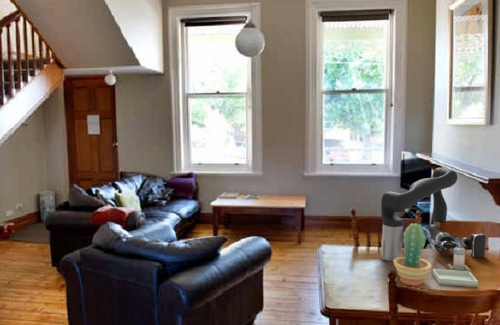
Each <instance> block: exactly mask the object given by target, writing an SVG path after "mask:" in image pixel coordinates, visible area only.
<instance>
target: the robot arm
mask: <svg viewBox="0 0 500 325" xmlns="http://www.w3.org/2000/svg"><path fill="white" fill-rule="evenodd" d="M458 178H459V177H458V173H457V172H456V171H454V170H453V169H449V168H443V167H437V168H435V169H434V170H433V172H432V176H431V177H427V178H421V179H418V180H417V181H415V182H413V183H411V185H410V187H409V189H408V191H406V192H403V193H401V192H400V193H399V192H396V191H395V192H394V191H390V190H389V191H386V192H384V193H383V194H382V198H381V202H380V203H381V204H380V205H381V206H380V207H381V220H382V237H381V249H380V250H381V251H380V252H381V255H380V256H381V259H382V260H385V261H388V262H394V261H393V260H394V259H396V258H398V257H403V255H402V252H403V250H402V249H403V228H404V227H403V226H404V223H403V222H404V220H403V218H401V217H400V216H399V215H398V214H397V213H402V212H404V211H406V210H407V209H408V208H410V207H412V205H414V204H416V203H418V202H419V201H422V200H424V199H425V198H427V197H430V196H431V195H432V197H433V208H432V217H431V219H432V221H433V222H435V223H437V222H440V223H445V222H446V223H447V216H448V206H447V202H446V200H445V198H444V195H443V192H442V190H445V189H449V188H451V187H453V186H454V185H455V184H456V183H457V181H458ZM440 223H439V224H440ZM427 230H428V231H429V232H430V235H431V236H430V239H432V240H433V247H434V249H435V250H438V249H439V251H441V252H443V253H445V251H450V250H453V251H454V248H456V247H458V248H464V249H465V252H467V245H466V244H465V243H464V242H460V243H458V242H456V240H455V239H454V237H453V236H451V234H450V233H449V232H448V233H447V232H446V231H444V230H441V229H437V228H436V225H435V224H432V225H430V226H428V227H427Z"/></svg>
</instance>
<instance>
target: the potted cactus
mask: <svg viewBox="0 0 500 325" xmlns="http://www.w3.org/2000/svg"><path fill="white" fill-rule="evenodd" d="M427 229H428V227H426V226H422V224H418V223H417V222H415V223H412V222H411V223H410V224H409V225H408V226H407V227H406V229H405V230H404V232H403V246H404V256H402V257H398V258H396V259H394V260H393V261H392V262H393V266H394V267H395V268H396V273H397V274H398V276H399V277H400V279H399V280H400V282H402V283H404V284H406V285H410V286H419V285H422V284H423V280H424V279H425V278H426V277H427V275H428V273H429V271H431V269H432V264H431V262H429V261H428V260H426V259H423V258H421V256H422V251H423V249H424V247H425V244H426V242H427V241H426V240H427V239H428V242H430V240H431V238H430V236H431V235H430V232H429V231H428V230H427Z"/></svg>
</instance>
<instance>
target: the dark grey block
mask: <svg viewBox="0 0 500 325" xmlns="http://www.w3.org/2000/svg"><path fill="white" fill-rule="evenodd" d="M486 239H487V236H486V235H485V234H483V233H473V234H471V235H470V238H469V240H470V242H469V244H470V245H471V249H472V250H471V253H470V257H472V258H476V259H477V258H483V257H485V256H486V245H487V244H486V242H487V240H486Z"/></svg>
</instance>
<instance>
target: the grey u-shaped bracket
mask: <svg viewBox="0 0 500 325" xmlns="http://www.w3.org/2000/svg"><path fill="white" fill-rule="evenodd" d="M447 268H448V270H456V271H470V272H471V273H472V272H473V271H472V270H471V269H470V268H469V267H468V266H467V265H466V264H464V270H462V269H453V265H451V264H450V263H447Z"/></svg>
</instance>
